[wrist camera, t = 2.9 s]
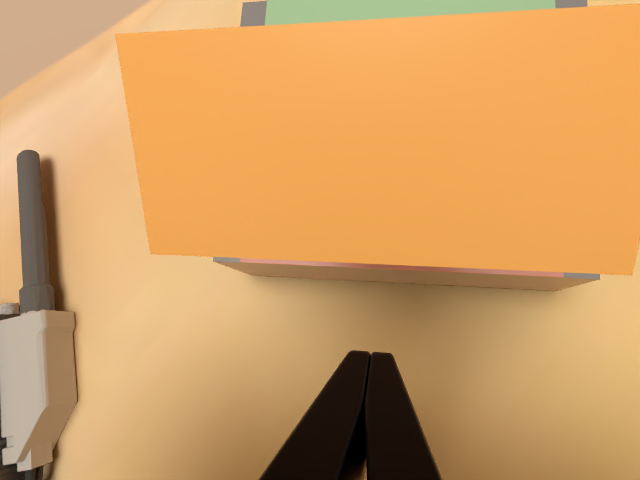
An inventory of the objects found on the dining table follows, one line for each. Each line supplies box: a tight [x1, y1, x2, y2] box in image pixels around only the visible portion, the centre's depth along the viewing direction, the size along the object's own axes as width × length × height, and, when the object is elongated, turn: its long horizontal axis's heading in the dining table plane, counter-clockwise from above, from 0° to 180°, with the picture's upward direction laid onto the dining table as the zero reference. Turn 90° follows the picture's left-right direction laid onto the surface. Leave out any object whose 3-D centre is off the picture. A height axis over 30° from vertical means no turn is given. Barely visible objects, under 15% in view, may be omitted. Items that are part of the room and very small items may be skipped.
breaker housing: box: [213, 0, 600, 291], centre depth 16 cm, size 10×12×6 cm
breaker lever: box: [115, 4, 640, 275], centre depth 10 cm, size 3×6×11 cm, turn 85°
